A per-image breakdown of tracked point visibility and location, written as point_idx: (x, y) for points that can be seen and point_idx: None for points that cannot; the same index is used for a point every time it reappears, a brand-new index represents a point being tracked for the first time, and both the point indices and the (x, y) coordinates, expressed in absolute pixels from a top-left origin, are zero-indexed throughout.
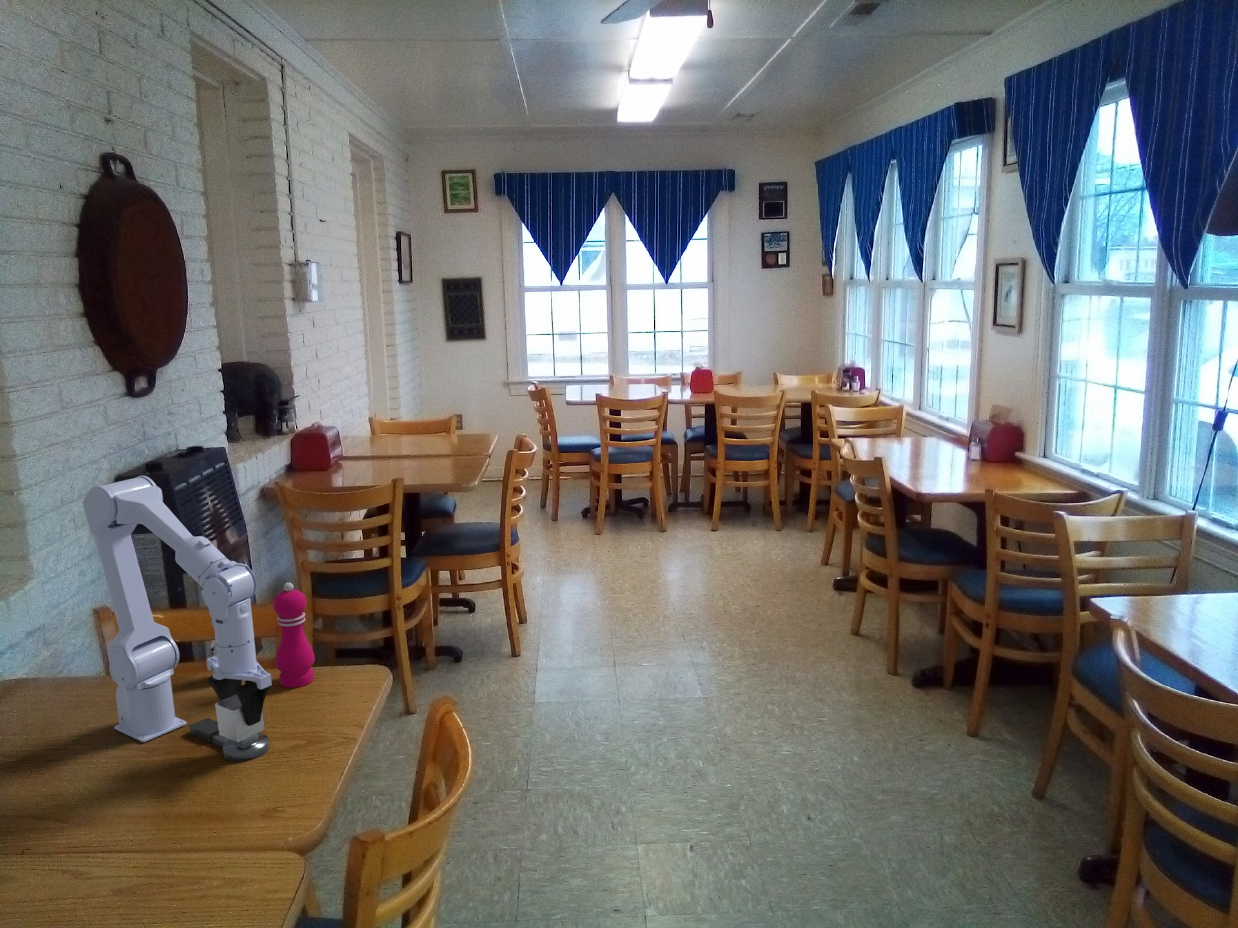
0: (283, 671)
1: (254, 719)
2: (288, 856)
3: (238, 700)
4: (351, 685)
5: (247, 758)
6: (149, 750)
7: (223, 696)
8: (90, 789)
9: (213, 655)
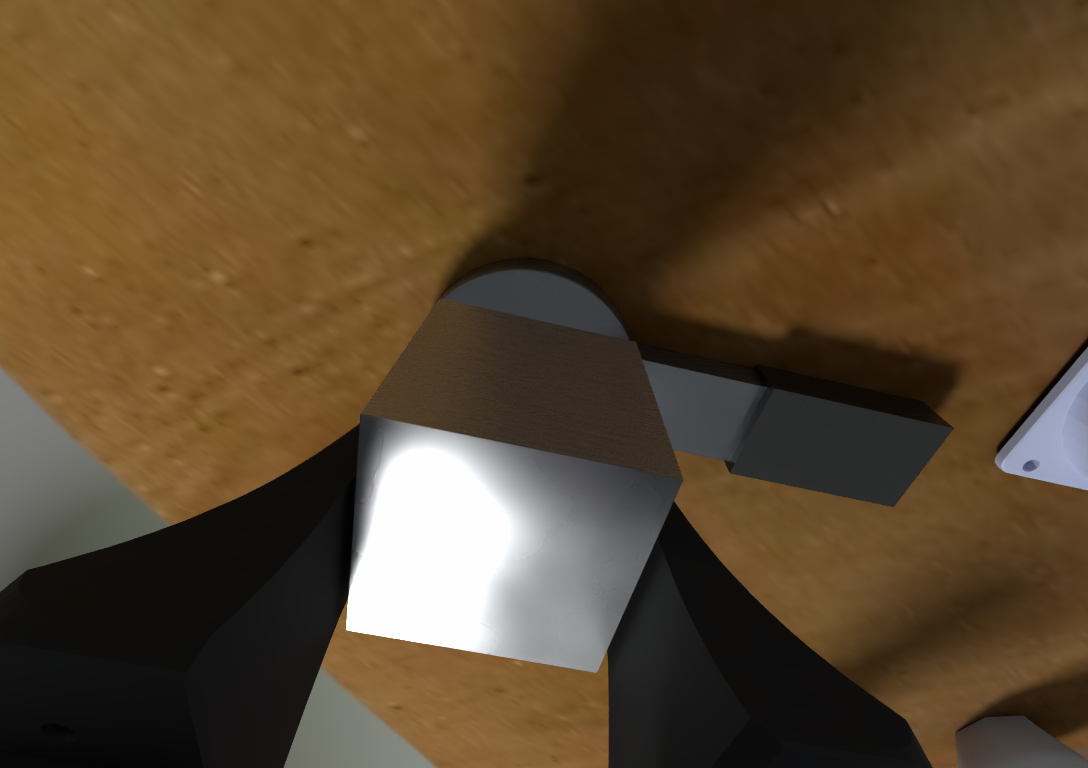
0: None
1: None
2: None
3: (499, 568)
4: (525, 760)
5: (443, 293)
6: (1082, 194)
7: (662, 579)
8: None
9: None
